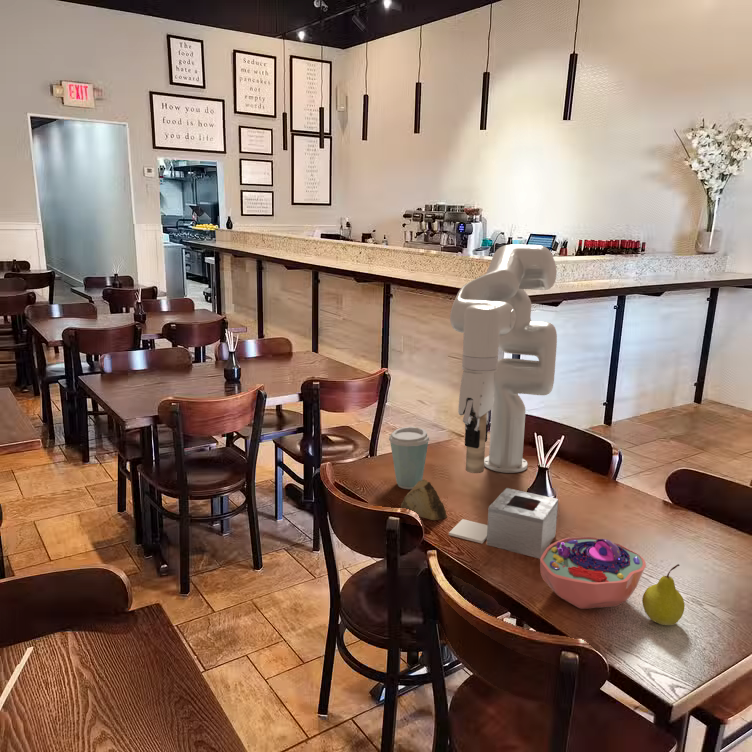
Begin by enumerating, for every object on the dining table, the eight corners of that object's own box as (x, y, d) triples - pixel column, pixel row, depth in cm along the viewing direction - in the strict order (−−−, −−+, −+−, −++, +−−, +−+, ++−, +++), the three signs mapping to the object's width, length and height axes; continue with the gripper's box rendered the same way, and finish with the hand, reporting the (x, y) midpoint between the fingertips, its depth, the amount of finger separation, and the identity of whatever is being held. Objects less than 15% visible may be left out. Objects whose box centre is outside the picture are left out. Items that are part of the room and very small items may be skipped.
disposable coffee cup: (413, 496, 170) (414, 441, 166) (380, 485, 176) (380, 432, 173) (435, 483, 178) (437, 430, 175) (402, 474, 184) (403, 422, 181)
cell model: (518, 585, 129) (521, 532, 127) (601, 567, 136) (606, 517, 134) (571, 635, 114) (577, 576, 111) (662, 612, 121) (669, 556, 118)
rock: (388, 502, 161) (410, 513, 152) (404, 471, 162) (427, 480, 154) (418, 520, 166) (442, 531, 157) (434, 490, 167) (458, 499, 159)
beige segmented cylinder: (469, 465, 150) (472, 397, 146) (486, 468, 148) (489, 400, 144) (462, 471, 146) (465, 401, 143) (479, 474, 144) (483, 404, 141)
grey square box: (504, 523, 155) (506, 487, 153) (555, 535, 150) (558, 498, 147) (486, 544, 145) (488, 507, 143) (540, 558, 139) (543, 519, 137)
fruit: (633, 621, 118) (640, 560, 115) (650, 605, 123) (657, 547, 120) (672, 638, 113) (680, 575, 111) (688, 621, 118) (696, 561, 115)
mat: (462, 521, 156) (462, 519, 156) (494, 529, 152) (494, 526, 152) (448, 535, 149) (448, 532, 149) (482, 543, 146) (482, 541, 145)
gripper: (477, 354, 150) (473, 431, 154) (448, 368, 136) (445, 452, 140) (509, 358, 147) (504, 436, 151) (482, 372, 132) (478, 458, 137)
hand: (475, 443), depth 146 cm, fingers closed on beige segmented cylinder, 4 cm apart
